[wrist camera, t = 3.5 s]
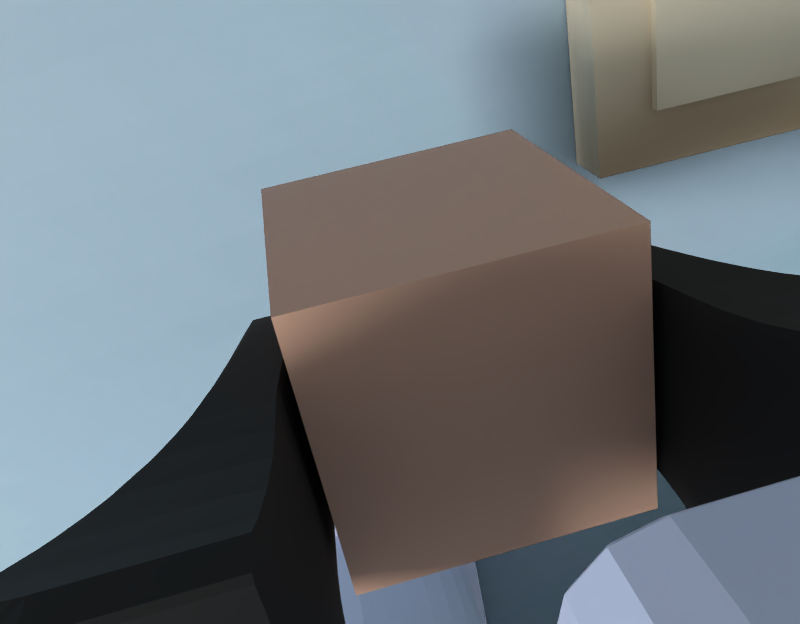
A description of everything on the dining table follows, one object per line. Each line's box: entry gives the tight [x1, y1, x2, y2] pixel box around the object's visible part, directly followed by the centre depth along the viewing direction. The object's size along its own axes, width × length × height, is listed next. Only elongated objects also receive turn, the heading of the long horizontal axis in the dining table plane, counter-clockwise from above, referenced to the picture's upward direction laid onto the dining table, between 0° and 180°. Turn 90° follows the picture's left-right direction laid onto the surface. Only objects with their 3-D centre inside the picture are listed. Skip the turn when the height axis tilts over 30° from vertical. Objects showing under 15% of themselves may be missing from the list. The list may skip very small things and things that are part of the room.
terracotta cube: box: [261, 129, 658, 596], centre depth 12 cm, size 4×4×5 cm
